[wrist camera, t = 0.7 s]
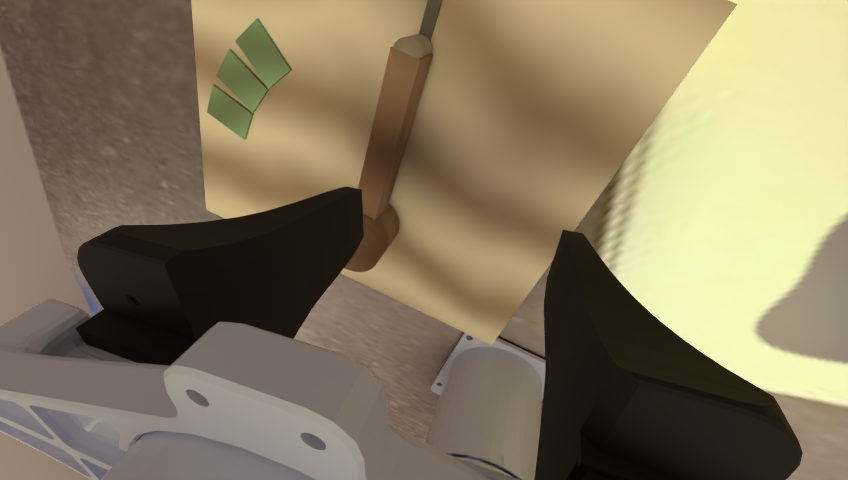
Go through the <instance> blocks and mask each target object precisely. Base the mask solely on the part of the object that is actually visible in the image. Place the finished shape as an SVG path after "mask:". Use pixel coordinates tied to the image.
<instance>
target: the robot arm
mask: <svg viewBox="0 0 848 480" xmlns="http://www.w3.org/2000/svg"><path fill="white" fill-rule="evenodd" d="M363 237H364V229H363V205H362V189H357V188H352V187H347V186H346V187H341V188H337V189H334V190H331V191H328V192H325V193H322V194H319V195H316V196H313V197H310V198H307V199H304V200H301V201H298V202H295V203H291V204H288V205H285V206H281V207H278V208H275V209H271V210H268V211H264V212H260V213H255V214H250V215H246V216H241V217H235V218H228V219H222V220H215V221H208V222H198V223H187V224H171V225H121V226H118V227H115V228H113V229H111V230H109V231H107V232H105V233H103V234H101V235H99V236H97V237H95V238H93V239H91V240H89V241H87V242H85V243H83V244H82V245H81V246H80V247H79V250H78V256H77V259H78V264H79V267H80V269H81V271H82V273H83V275H84V277H85V279H86V280H87V282H88V284H89V285H90V287H91V289H92V290H93V292H94V294H95V295H96V297H97V299H98V300H99V302H100V304H101V305H102V307H103V308H104V310H102V311H101V312H99V313H98V314H96V315H95V316H93V317H92V318H91V317H90V316H89V315H88V314H87V313H86V312H84V311H83V310H82V309H80V308H78V307H75V306H72V305H69V304H66V303H63V302H60V301H57V300H54V299H47V300H45V301H44V302H42V303H41V304H38V305H37V306H35V307H33V308H31V309H30V310H28V311H26V312H25V313H23V314H21V315H19V316H18V317H16V318H14V319H12V320H11V321H9V322H7V323H5V324H4V325H2V326H0V432H1V433H4V434H5V435H8V436H10V437H12V438H14V439H16V440H18V441H20V442H22V443H24V444H26V445H28V446H30V447H32V448H34V449H35V450H38V451H39V452H41V453H43V454H45V455H47V456H49V457H51V458H52V459H54V460H56V461H58V462H60V463H61V464H63V465H65V466H67V467H69V468H70V469H72V470H74V471H76V472H78V473H79V474H81V475H83V476H85V477H86V478H88V479H90V480H786V479H787V478H788V477H789V476H790V475H791V474H792V473H793V472H794V471H795V470H796V468H797V467H798V466H799V465H800V461H801V457H802V450H801V447H800V444H799V441H798V439H797V437H796V436H795V434H794V432H793V430H792V428H791V426H790V425H789V423H788V421H787V419H786V417H785V416H784V414H783V412H782V410H781V408H780V406H779V405H778V403H777V401H776V400H775V398H774V396H772V395H770V394H768V393H767V392H765V391H763V390H762V389H760V388H758V387H756V386H755V385H753V384H751V383H750V382H748V381H746V380H744V379H743V378H741V377H739V376H738V375H736V374H734V373H732V372H731V371H729V370H727V369H726V368H724V367H723V366H721V365H719V364H718V363H716V362H715V361H713V360H712V359H710V358H709V357H707V356H706V355H704V354H703V353H701V352H700V351H698V350H697V349H696V348H694V347H693V346H691V345H690V344H689V343H687V342H686V341H684V340H683V339H682V338H680V337H679V336H678V335H677V334H675V333H674V332H673V331H671V330H670V329H669V328H668V327H666V326H665V325H664V324H663V323H661V322H660V321H659V320H658V319H657V318H656V317H654V316H653V315H652V314H651V313H650V312H649V311H648V310H647V309H646V308H645V307H643V306H642V305H641V304H640V303H639V302H638V301H637V300H636V299H635V298H634V297H633V296H632V295H631V294H630V293H629V292H628V291H627V290H626V288H625V287H624V286H623V285H622V284H621V283H620V282H619V281H618V280H617V278H616V277H615V276H614V275H613V274H612V272H611V271H610V270H609V269H608V267H607V266H606V265H605V263H604V262H603V261H602V259H601V258H600V257H599V255H598V254H597V253H596V251H595V250H594V248H593V247H592V246H591V244H590V243H589V241H588V240H587V238H586V237H585V236H584V234H582V233H577V232H572V231H567V230H563V231H562V234H561V237H560V240H559V243H558V246H557V249H556V253H555V256H554V259H553V262H552V265H551V268H550V271H549V274H548V277H547V283H546V291H545V300H544V326H545V360H544V359H542V358H540V357H538V356H535V355H533V354H531V353H529V352H527V351H525V350H523V349H521V348H519V347H516V346H514V345H512V344H510V343H508V342H506V341H504V340H502V339H500V338H496V340H495V341H494V343H493V344H492V345H490V344H488V343H486V342H484V341H482V340H480V339H478V338H475V337H473V336H471V335H469V334H467V333H465V332H464V333H463V335H462V337H461V338H460V340H459V341H458V343H457V345H456V346H455V348H454V349H453V351H452V353H451V354H450V356H449V358H448V359H447V361H446V362H445V364H444V366H443V367H442V369H441V370H440V372H439V374H438V375H437V377H436V379H435V380H434V382H433V383H432V385H431V391H432V392H434V393H436V394H438V395H440V397H439V400H438V404H437V407H436V410H435V413H434V417H433V420H432V423H431V426H430V430H429V433H428V436H427V440H426V443H425V442H424V441H422V440H420V439H418V438H416V437H415V436H413V435H411V434H409V433H407V432H406V431H404V430H402V429H400V428H398V427H397V426H395V425H393V424H391V423H389V419H388V414H389V402H388V400H387V397H386V394H385V392H384V389H383V386H382V384H381V382H380V380H379V379H378V378H376V377H375V376H374V375H373V374H372V373H371V372H370V371H369V370H368V369H367V368H366V367H365V366H364V365H363V364H361V363H359V362H357V361H355V360H353V359H351V358H349V357H346V356H344V355H342V354H340V353H337V352H333V351H330V350H327V349H324V348H321V347H317V346H314V345H311V344H308V343H304V342H301V341H298V340H295V339H294V337H295V335H296V333H297V332H298V330H299V328H300V327H301V325H302V324H303V322H304V320H305V319H306V317H307V316H308V314H309V313H310V311H311V309H312V308H313V306H314V305H315V304H316V302H317V301H318V300H319V298H320V297H321V296H322V295H323V293H324V292H325V291H326V290H327V288H328V287H329V286H330V285H331V283H332V282H333V281H334V280H335V278H336V277H337V276H338V275H339V274H340V272H341V271H342V270H343V269H344V267H345V266H346V265H347V263H348V262H349V261H350V260H351V258H352V257H353V255H354V253H355V252H356V250H357V248H358V247H359V245H360V243H361V241H362V239H363ZM469 336H471V337H469ZM542 399H543V406H542V416H541V400H542ZM540 420H541V426H540Z"/></svg>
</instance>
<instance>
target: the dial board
mask: <svg viewBox="0 0 848 480" xmlns="http://www.w3.org/2000/svg"><path fill="white" fill-rule="evenodd" d="M191 3H192V17H193V31H194V45H195V59H196V73H197V87H198V101H199V115H200V129H201V143H202V157H203V171H204V185H205V199H206V210H208V211H210V212H212V213H215V214H217V215H219V216H221V217H223V218H225V219H228V218H235V217H241V216H246V215H250V214H255V213H260V212H264V211H268V210H271V209H275V208H278V207H281V206H285V205H288V204H291V203H295V202H298V201H301V200H304V199H307V198H310V197H313V196H316V195H319V194H322V193H325V192H328V191H331V190H334V189H337V188H341V187H346V186H347V187H352V188H357V189H358V186H359V182H360V177H361V173H362V169H363V164H364V160H365V156H366V151H367V147H368V143H369V138H370V134H371V130H372V125H373V121H374V117H375V113H376V108H377V104H378V100H379V95H380V91H381V87H382V82H383V78H384V74H385V69H386V65H387V61H388V56H389V52H390V48H391V47H393V46H394V44H395V42H396V41H397V40H398V39H400V38H403V37H407V36H412V35H416V34H423V35H425V36H426V37H428V38H429V40H430V42H431V44H432V53H431V54H433V57H432V61H431V64H430V67H429V71H428V74H427V77H426V81H425V84H424V87H423V91H422V94H421V97H420V101H419V104H418V107H417V111H416V114H415V117H414V120H413V124H412V127H411V130H410V134H409V137H408V140H407V144H406V147H405V150H404V154H403V157H402V160H401V164H400V167H399V170H398V174H397V177H396V180H395V184H394V187H393V190H392V193H391V197H390V200H389V203H388V204H389V205H390V206H391V207H392V208H393V209H394V211H395V212H396V214H397V216H398V220H399V231H398V233H397V235H396V237H395V238H394V240H393V241H392V243H391V244H390V245H389V247H388V248H387V250H386V251H385V253H384V254H383V255H382V257H381V258H380V260H379V261H378V263H377V264H376V265H375V266H374V267H373V268H372V269H371V270H369V271H365V272H354V271H350V270H347V269H345V268H344V269H343V270H342V271H341V272H340V273H341V274H343V275H345V276H347V277H349V278H351V279H353V280H356V281H358V282H360V283H362V284H364V285H366V286H368V287H370V288H372V289H374V290H377V291H379V292H381V293H383V294H385V295H387V296H389V297H391V298H393V299H396V300H398V301H400V302H402V303H404V304H406V305H408V306H410V307H412V308H414V309H417V310H419V311H421V312H423V313H425V314H427V315H429V316H431V317H433V318H435V319H438V320H440V321H442V322H444V323H446V324H448V325H450V326H452V327H454V328H457V329H459V330H461V331H463V332H465V333H467V334H469V335H471V336H473V337H475V338H478V339H480V340H482V341H484V342H486V343H488V344H490V345H492V344H493V343H494V341H495V340H496V338H497V337H498V336H499V334H500V333H501V332H502V330H503V329H504V327H505V326H506V325H507V323H508V322H509V320H510V319H511V318H512V316H513V315H514V313H515V312H516V311H517V309H518V308H519V307H520V305H521V304H522V302H523V301H524V300H525V298H526V297H527V295H528V294H529V293H530V291H531V290H532V288H533V287H534V286H535V284H536V283H537V282H538V280H539V279H540V277H541V276H542V275H543V273H544V272H545V270H546V269H547V268H548V266H549V265H550V264H551V262H552V261H553V259H554V256H555V253H556V249H557V246H558V243H559V240H560V237H561V234H562V231H563V230H567V231H572V232H574V230H575V229H576V227H577V226H578V225H579V223H580V222H581V220H582V219H583V218H584V216H585V215H586V214H587V212H588V211H589V209H590V208H591V207H592V205H593V204H594V202H595V201H596V200H597V198H598V197H599V195H600V194H601V193H602V191H603V190H604V189H605V187H606V186H607V184H608V183H609V182H610V180H611V179H612V177H613V176H614V175H615V173H616V172H617V171H618V169H619V168H620V166H621V165H622V164H623V162H624V161H625V159H626V158H627V157H628V155H629V154H630V152H631V151H632V150H633V148H634V147H635V146H636V144H637V143H638V141H639V140H640V139H641V137H642V136H643V134H644V133H645V132H646V130H647V129H648V127H649V126H650V125H651V123H652V122H653V121H654V119H655V118H656V116H657V115H658V114H659V112H660V111H661V109H662V108H663V107H664V105H665V104H666V103H667V101H668V100H669V98H670V97H671V96H672V94H673V93H674V91H675V90H676V89H677V87H678V86H679V84H680V83H681V82H682V80H683V79H684V78H685V76H686V75H687V73H688V72H689V71H690V69H691V68H692V66H693V65H694V64H695V62H696V61H697V59H698V58H699V57H700V55H701V54H702V53H703V51H704V50H705V48H706V47H707V46H708V44H709V43H710V41H711V40H712V39H713V37H714V36H715V34H716V33H717V32H718V30H719V29H720V28H721V26H722V25H723V23H724V22H725V21H726V19H727V18H728V16H729V15H730V14H731V12H732V11H733V10H734V8H735V7H736V5H737V4H735V3H733V2H730V1H728V0H191Z"/></svg>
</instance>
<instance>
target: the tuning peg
mask: <svg viewBox="0 0 848 480" xmlns="http://www.w3.org/2000/svg"><path fill="white" fill-rule="evenodd" d="M431 53H432V44H431V42H430V40H429V38H428V37H426V36H425V35H423V34H416V35H412V36H407V37H403V38H400V39H398V40H397V41H396V42H395V44H394V46H393V47H391V48H390V52H389V56H388V61H387V65H386V69H385V74H384V78H383V82H382V87H381V91H380V95H379V100H378V104H377V108H376V113H375V117H374V121H373V125H372V130H371V134H370V138H369V143H368V147H367V151H366V156H365V160H364V164H363V169H362V173H361V177H360V182H359V186H358V189H362V205H363V229H364V237H363V239H362V241H361V243H360V245H359V247H358V248H357V250H356V252H355V253H354V255H353V257H352V258H351V260H350V261H349V262H348V263H347V265H346V266H345V267H344V268H345V269H347V270H350V271H354V272H365V271H369V270H371V269H372V268H373V267H374V266H375V265H376V264H377V263H378V261H379V260H380V258H381V257H382V255H383V254H384V253H385V251H386V250H387V248H388V247H389V245H390V244H391V243H392V241H393V240H394V238H395V237H396V235H397V233H398V231H399V220H398V216H397V214H396V212H395V211H394V209H393V208H392V207H391V206H390V205H389V204H388V203H389V200H390V197H391V193H392V190H393V187H394V184H395V180H396V177H397V174H398V170H399V167H400V164H401V160H402V157H403V154H404V150H405V147H406V144H407V140H408V137H409V134H410V130H411V127H412V124H413V120H414V117H415V114H416V111H417V107H418V104H419V101H420V97H421V94H422V91H423V87H424V84H425V81H426V77H427V74H428V71H429V67H430V64H431V61H432V57H433V54H431Z"/></svg>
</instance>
